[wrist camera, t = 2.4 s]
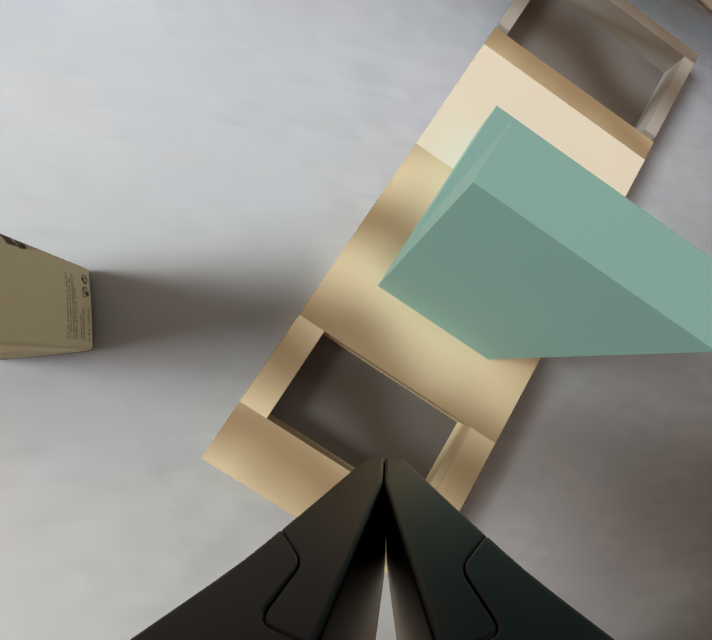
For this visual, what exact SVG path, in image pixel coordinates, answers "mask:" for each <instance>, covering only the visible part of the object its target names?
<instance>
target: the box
mask: <svg viewBox="0 0 712 640" xmlns="http://www.w3.org/2000/svg"><path fill="white" fill-rule="evenodd" d="M92 347H93V342H92V310H91V292H90V279H89V271H88V270H87V269H85V268H83V267H81V266H78V265H76V264H73V263H71V262H69V261H66V260H64V259H61V258H59V257H56V256H54V255H51V254H49V253H47V252H44V251H42V250H39V249H37V248H34V247H31V246H29V245H26V244H24V243H22V242H19V241H17V240H14V239H12V238H9V237H7V236H4V235H2V234H0V359H8V358H21V357H33V356H43V355H53V354H63V353H72V352H81V351H88V350H91V349H92Z"/></svg>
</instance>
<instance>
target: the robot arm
mask: <svg viewBox="0 0 712 640" xmlns="http://www.w3.org/2000/svg"><path fill="white" fill-rule="evenodd" d="M385 560H387V571H388V579H389V586H390V593H391V601H392V608H393V616H394V623H395V630H396V638H397V640H614V639H613V638H612V637H610V636H609V635H608V634H606V633H605V632H604V631H602V630H601V629H600V628H598V627H597V626H596V625H594V624H593V623H592V622H591V621H589V620H588V619H587V618H585V617H584V616H583V615H581V614H580V613H579V612H577V611H576V610H575V609H574V608H572V607H571V606H570V605H568V604H567V603H566V602H564V601H563V600H562V599H560V598H559V597H558V596H557V595H555V594H554V593H553V592H552V591H550V590H549V589H548V588H546V587H545V586H544V585H543V584H541V583H540V582H539V581H538V580H536V579H535V578H534V577H533V576H531V575H530V574H529V573H528V572H526V571H525V570H524V569H523V568H522V567H521V566H519V565H518V564H517V563H516V562H515V561H514V560H513V559H511V558H510V557H509V556H508V555H507V554H506V553H505V552H503V551H502V550H501V549H500V548H499V547H498V546H497V545H496V544H495V543H494V542H493V541H492V540H490V539H489V538H486V536H485V535H484V534H483V533H482V532H481V531H480V530H479V529H478V528H477V527H475V526H474V525H473V524H472V523H471V522H470V521H469V520H468V519H467V518H466V517H465V516H464V515H463V514H462V513H460V512H459V511H458V510H457V509H456V508H455V507H454V506H453V505H452V504H451V503H450V502H449V501H448V500H446V499H445V498H444V497H443V496H442V495H441V494H440V493H439V492H438V491H437V490H436V489H435V488H434V487H433V486H431V485H430V484H429V483H428V482H427V481H426V480H425V479H424V478H423V477H422V476H421V475H420V474H419V473H417V472H416V471H415V470H414V469H413V468H412V467H411V466H410V465H409V464H408V463H407V462H406V461H405V460H403V459H393V458H388V459H386V460H385V461H384V459H382V458H368V459H366V460H364V461H363V462H362V463H361V464H360V465H358V466H357V467H356V468H355V469H354V470H353V471H351V472H350V473H349V474H348V475H347V476H345V477H344V478H343V479H342V480H341V481H340V482H338V483H337V484H336V485H335V486H334V487H332V488H331V489H330V490H329V491H328V492H327V493H325V494H324V495H323V496H322V497H321V498H319V499H318V500H317V501H316V502H315V503H314V504H312V505H311V506H310V507H309V508H308V509H306V510H305V511H304V512H303V513H302V514H300V515H299V516H298V517H297V518H296V519H295V520H293V521H292V522H291V523H290V524H289V525H287V526H286V527H285V528H284V529H283V530H282V532H278V533H277V534H276V535H275V536H273V537H272V538H271V539H270V540H269V541H267V542H266V543H265V544H264V545H262V546H261V547H260V548H259V549H257V550H256V551H255V552H254V553H252V554H251V555H250V556H249V557H247V558H246V559H245V560H244V561H242V562H241V563H239V564H238V565H237V566H235V567H234V568H233V569H231V570H230V571H228V572H227V573H226V574H224V575H223V576H221V577H220V578H219V579H217V580H216V581H214V582H213V583H212V584H210V585H209V586H207V587H206V588H204V589H203V590H201V591H200V592H199V593H197V594H196V595H194V596H193V597H191V598H190V599H188V600H187V601H186V602H184V603H183V604H181V605H180V606H178V607H177V608H175V609H174V610H173V611H171V612H170V613H168V614H167V615H165V616H164V617H162V618H161V619H160V620H158V621H157V622H155V623H154V624H152V625H151V626H149V627H148V628H146V629H145V630H144V631H142V632H141V633H139V634H138V635H136V636H135V637H133V638H132V639H131V640H376V632H377V625H378V617H379V609H380V602H381V594H382V586H383V579H384V571H385Z"/></svg>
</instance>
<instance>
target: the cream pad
mask: <svg viewBox="0 0 712 640" xmlns="http://www.w3.org/2000/svg"><path fill="white" fill-rule="evenodd" d="M496 106H498V107H499V108H501V109H502V110H504V111H505V112H507V113H508V114H509V115H511V116H512V117H514V118H515V119H516V120H518V121H519V122H521V123H522V124H523V125H525V126H526V127H528V128H529V129H530V130H532V131H533V132H535V133H536V134H538V135H539V136H540V137H542V138H543V139H545V140H546V141H547V142H549V143H550V144H552V145H553V146H554V147H556V148H557V149H559V150H560V151H561V152H563V153H564V154H566V155H567V156H568V157H570V158H571V159H573V160H574V161H575V162H577V163H578V164H580V165H581V166H582V167H584V168H585V169H587V170H588V171H590V172H591V173H592V174H594V175H595V176H597V177H598V178H599V179H601V180H602V181H604V182H605V183H606V184H608V185H609V186H611V187H612V188H613V189H615V190H616V191H618V192H619V193H620V194H622V195H623V196H626V195H627V193H628V191H629V189H630V187H631V185H632V183H633V181H634V179H635V178H636V176H637V174H638V172H639V170H640V168H641V166H642V164H643V162H644V161H645V159H643V158H642V157H640V156H639V155H638V154H636V153H635V152H633V151H632V150H631V149H629V148H628V147H627V146H625V145H624V144H622V143H621V142H620V141H618V140H617V139H615V138H614V137H613V136H611V135H610V134H608V133H607V132H606V131H604V130H603V129H602V128H600V127H599V126H597V125H596V124H595V123H593V122H592V121H590V120H589V119H588V118H586V117H585V116H583V115H582V114H581V113H579V112H578V111H577V110H575V109H574V108H572V107H571V106H570V105H568V104H567V103H565V102H564V101H563V100H561V99H560V98H559V97H557V96H556V95H554V94H553V93H552V92H550V91H549V90H547V89H546V88H545V87H543V86H542V85H540V84H539V83H538V82H536V81H535V80H534V79H532V78H531V77H529V76H528V75H527V74H525V73H524V72H522V71H521V70H520V69H518V68H517V67H515V66H514V65H513V64H511V63H510V62H509V61H507V60H506V59H504V58H503V57H502V56H500V55H499V54H497V53H496V52H495V51H493V50H492V49H490V48H489V47H488V46H486V45H485V44H484V45H483V46H482V48H481V49H480V51H479V52H478V54H477V55H476V57H475V58H474V59H473V61H472V62H471V64H470V65H469V67H468V68H467V70H466V71H465V73H464V74H463V76H462V77H461V79H460V80H459V81H458V83H457V84H456V86H455V87H454V89H453V90H452V92H451V93H450V95H449V96H448V98H447V99H446V100H445V102H444V103H443V105H442V106H441V108H440V109H439V111H438V112H437V114H436V115H435V117H434V118H433V119H432V121H431V122H430V124H429V125H428V127H427V128H426V130H425V131H424V133H423V134H422V136H421V137H420V139H419V140H418V141H417V143H416V144H418V145H419V146H421V147H422V148H423V149H425V150H426V151H428V152H429V153H431V154H432V155H433V156H435V157H436V158H438V159H439V160H441V161H442V162H444V163H445V164H446V165H448V166H449V167H451V168H452V169H454V167H455V166H456V164H457V162H458V161H459V159H460V158H461V156H462V155H463V153H464V152H465V150H466V149H467V147H468V146H469V144H470V142H471V141H472V139H473V138H474V136H475V135H476V133H477V132H478V130H479V129H480V127H481V126H482V125H483V123H484V122H485V121H486V119H487V118H488V117H489V115H490V114H491V113H492V111H493V110H494V108H495V107H496Z"/></svg>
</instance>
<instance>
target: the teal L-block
mask: <svg viewBox="0 0 712 640" xmlns="http://www.w3.org/2000/svg"><path fill="white" fill-rule="evenodd" d="M378 286H379V287H380V288H382V289H383V290H385V291H386V292H388V293H389V294H391V295H392V296H394V297H395V298H397V299H398V300H400V301H401V302H403V303H404V304H406V305H407V306H409V307H410V308H412V309H413V310H415V311H416V312H418V313H419V314H421V315H422V316H424V317H425V318H427V319H428V320H430V321H431V322H433V323H434V324H436V325H437V326H439V327H440V328H442V329H443V330H445V331H446V332H448V333H449V334H451V335H452V336H454V337H455V338H457V339H458V340H460V341H461V342H463V343H464V344H466V345H467V346H468V347H470V348H471V349H473V350H474V351H476V352H477V353H479V354H480V355H482V356H483V357H485V358H486V359H515V358H544V357H574V356H603V355H633V354H662V353H692V352H712V258H710V257H709V256H708V255H706V254H705V253H703V252H702V251H701V250H699V249H698V248H696V247H695V246H694V245H692V244H691V243H689V242H688V241H686V240H685V239H684V238H682V237H681V236H679V235H678V234H677V233H675V232H674V231H672V230H671V229H670V228H668V227H667V226H665V225H664V224H663V223H661V222H660V221H658V220H657V219H656V218H654V217H653V216H651V215H650V214H649V213H647V212H646V211H644V210H643V209H642V208H640V207H639V206H637V205H636V204H634V203H633V202H632V201H630V200H629V199H627V198H626V197H625V196H623V195H622V194H620V193H619V192H618V191H616V190H615V189H613V188H612V187H611V186H609V185H608V184H606V183H605V182H604V181H602V180H601V179H599V178H598V177H597V176H595V175H594V174H592V173H591V172H590V171H588V170H587V169H585V168H584V167H582V166H581V165H580V164H578V163H577V162H575V161H574V160H573V159H571V158H570V157H568V156H567V155H566V154H564V153H563V152H561V151H560V150H559V149H557V148H556V147H554V146H553V145H552V144H550V143H549V142H547V141H546V140H545V139H543V138H542V137H540V136H539V135H538V134H536V133H535V132H533V131H532V130H530V129H529V128H528V127H526V126H525V125H523V124H522V123H521V122H519V121H518V120H516V119H515V118H514V117H512V116H511V115H509V114H508V113H507V112H505V111H504V110H502V109H501V108H499V107H498V106H496V107H495V108H494V110H493V111H492V113H491V114H490V115H489V117H488V118H487V119H486V121H485V122H484V123H483V125H482V126H481V127H480V129H479V130H478V132H477V133H476V135H475V136H474V138H473V139H472V141H471V142H470V144H469V146H468V147H467V149H466V150H465V152H464V153H463V155H462V156H461V158H460V159H459V161H458V162H457V164H456V166H455V167H454V169H453V170H452V172H451V173H450V175H449V176H448V178H447V179H446V181H445V183H444V184H443V186H442V187H441V189H440V190H439V192H438V193H437V195H436V196H435V198H434V199H433V201H432V203H431V204H430V206H429V207H428V209H427V210H426V212H425V213H424V215H423V216H422V218H421V220H420V221H419V223H418V224H417V226H416V227H415V229H414V230H413V232H412V233H411V235H410V237H409V238H408V240H407V241H406V243H405V244H404V246H403V247H402V249H401V250H400V252H399V253H398V255H397V257H396V258H395V260H394V261H393V263H392V264H391V266H390V267H389V269H388V270H387V272H386V274H385V275H384V277H383V278H382V280H381V281H380V283H379V284H378Z"/></svg>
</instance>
